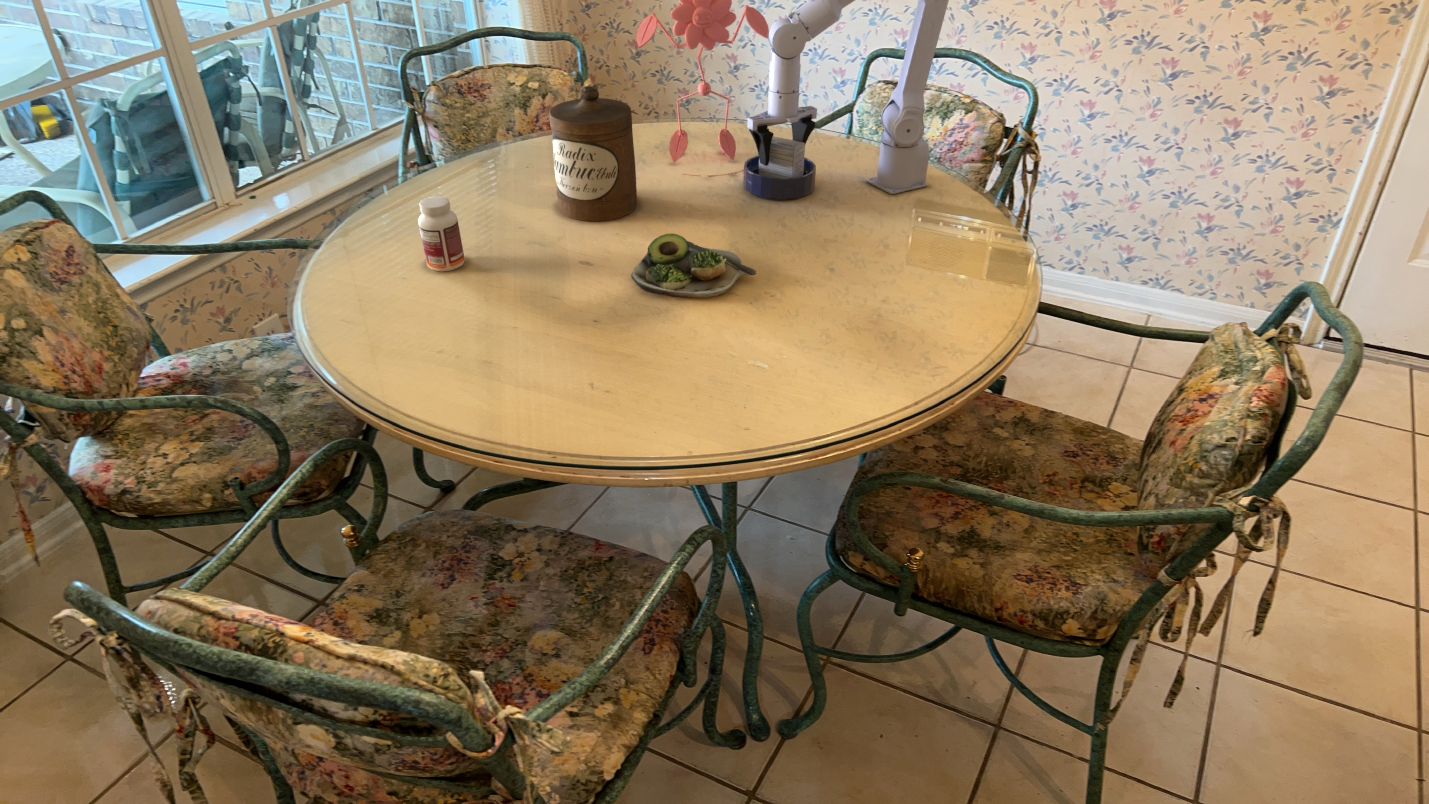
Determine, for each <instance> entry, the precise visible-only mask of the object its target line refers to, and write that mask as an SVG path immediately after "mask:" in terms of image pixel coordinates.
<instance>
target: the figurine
mask: <svg viewBox="0 0 1429 804" xmlns="http://www.w3.org/2000/svg"><path fill="white" fill-rule="evenodd" d="M678 1H679V3H680V4H679V5H677V6H675V7H674V8H673V9H672V10H671V12H670V14H669V15H670V18H671V19H673V20H674V21H675V22H674V25H673V27H672V34H673V36H675V37H681V36H684V39H685V40H684V41H685V42H684V43H681V44H678V43H676V41H675V39H673V37H672V36H671V34H670V33H669V31H667V29H666V27H665V26H663V24H662V22H661V21H660V20H659V19H658V17H657V16H656V13H655V12H652V13H651V14H650V15H647V16H646V17H645V18H644V19H643V20H642V22H640V24H639V27H638V28H637V31H636V43H637V46H638V48H639V49H642V48H643V47H644V46H645V45H646V44H647V43H649V42H650V41H651V40H652V38H653V37H654V35H655V34H656V32H657V31H656V30H657V28H658V26H659V27H660V29H661V30H662V31H663V33H664V34H665V36H666V37H668V39H669V40H670V42H671V43H672V44H673V46H674V47H676V49H680V48H683V47H686V48H688V50H695V49H697V48H698V46H699V44H700V45H701V46H700V48H699V50H698V52H697V53H698V54H697V56H696V60H697V64H698V67H699V71H700V76H701V79H702V82H700V83H699V84H698V86H697V90H696V91H694V92H692V93H689V94H687V95H685V96H683V97H680V98H677V99H676V109H677V110H676V111H677V119H678V129H677V130H675V131H674V133H673V134H672V135H671V138H670V140H669V143H668V144H669V145H668V146H669V147H668V151H669V155H670V158H671V160H672V163H676V162H677V161H678V160H679V159H680V158H682V157H683V156H684V154H685V152H686V151H687V149H688V145H689V138H688V136H689V135H688V132H687V131H686V130H685V129H682V124H681V114H680V103H679V101H681V100H684V99H686V98H689V97H692V96H694V95H696V94H699V95H700V96H703V97H706V96H709V95H710V93H711V94H713V95H716V96H718V97H720V98H722V99H725V100H726V111H725V121H724V128H721V129H720V130H719V132H718V144H719V147H720V149H721V155H724V154H725V155H726V156H727V158H729V159H730V160H732V161H734V159H735V157H736V150H737V145H736V140H735V138H734V135H733V134H732V133H731V132H730V130H729V129H727V128H728V117H729V105H730V99H729V98H728V97H727V96H724V95H722V94H721V93H720V94H719V93H717V92H716V91H713V90H712V86H711V84H710V83H709V82H707V81H706V79H705V74H704V70H703V66H702V62H701V55H702V52H703V49H705V50H708V51H712V50H713V49H714V48H715V46H716V45H717V43H719V44H729V45H730V44H731V45H734V42H735V41H736V37H737V35H738V33H739V31H740V28H741V26H742V23H743V21H744V19H746V22H747V24H748V25H749V27H750V28H751V29H752V30H753V32H754V33H756V34H758V35H759V36H761V37H763V38H764V39H767V40H768V33H769V31H770V29H769V24H768V22H767V20H766V18H765V16H764V15H763V14H762V13H761V12H760V11H759V10H758V9H756V8H755V7H753V6H750V5H748V4H746V5H744V8H743V9H744V10H743V11H742V14H741V16H740V19H739V22H738V24H737V26H736V28H735V31H734V33H733V36H732V38H731V40H729V39H730V31H729V30H728V29H727V28H728V27H730V26H732V25H733V24H734V23H735V22H736V20H737V14H736V13H735V12H733V11H731V10H730V9H731V8H732V3H733V2H732V1H733V0H678ZM651 154H652V155H653V154H654V152H652V153H651ZM741 172H744V169H742V170H738V171H735V172H731V173H725V174H723V176H727V175H732V174H734V175H737V174H739V173H741ZM682 175H683V176H691V177H700V175H697V174H688V173H687V174H686V173H682ZM718 176H722V174H715V175H714V174H713V175H708V178H714V177H718Z"/></svg>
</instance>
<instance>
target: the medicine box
mask: <svg viewBox="0 0 1429 804" xmlns="http://www.w3.org/2000/svg"><path fill="white" fill-rule="evenodd" d="M805 151H806V144H805V143H804V142H799V141H794V140H793V139H789V138H783V137H779V136H773V138H772V141H771V146H770V157H769V164H768V165H766V166H765V165H763V164H761V163H760V160H759V175H760V176H764V177H770V178H783V179H784V178H796V177H800V176H803V173H804V158H805Z"/></svg>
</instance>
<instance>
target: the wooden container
mask: <svg viewBox="0 0 1429 804" xmlns="http://www.w3.org/2000/svg"><path fill="white" fill-rule="evenodd" d="M599 96H600V92H599V90H598V89H597V88H594V87H593V86H584V87H583V88H582V89H581V90H579V92H578V97H579V99H571V100H567V101H562V102H561V103H560V102H559V103H557V104H556V105H554V106H552V107H551V108H550V110H549V112H548V113H549V115H548V116H549V126H550V131H551V140H552V141H551V142H552V151H553V152H552V153H553V168H554V179H555V188H556V197H557V198H556V199H557V206H558V210H559V212H560V213H561V214H563V215H564V216H566V217H568V218H570V219H575V220H578V221H585V222H603V221H605V222H606V221H611V220H616V219H620V218H622V217H625V216H627V215H629V214H631V213H632V212H633V211H635V210H636V209H637V206H638V195H637V194H638V192H637V171H636V157H635V146H634V145H635V144H634V134H633V114H632V109H631V106H630V105H629V104H628V103H625V102H623V101H621V100H617V99H612V98H606V97H605V98H604V97H599Z"/></svg>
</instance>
